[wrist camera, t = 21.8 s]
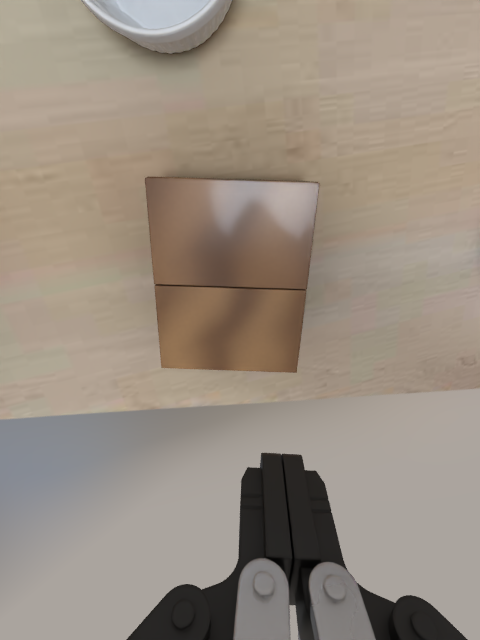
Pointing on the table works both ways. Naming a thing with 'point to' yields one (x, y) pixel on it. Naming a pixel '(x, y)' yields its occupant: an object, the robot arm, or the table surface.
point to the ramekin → (162, 21)
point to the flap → (229, 327)
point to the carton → (231, 231)
